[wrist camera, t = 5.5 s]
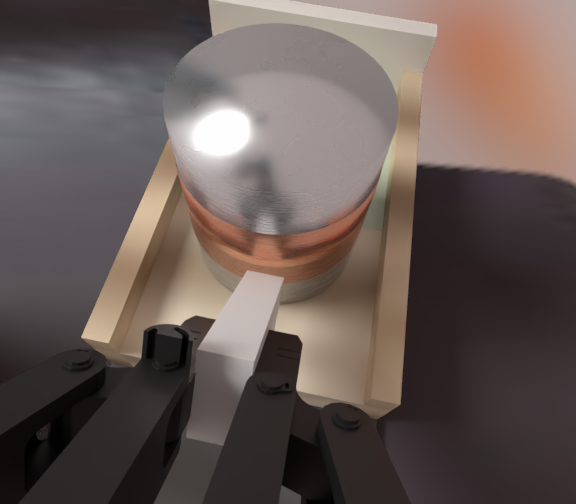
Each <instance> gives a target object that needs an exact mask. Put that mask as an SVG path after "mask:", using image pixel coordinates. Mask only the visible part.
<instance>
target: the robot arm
mask: <svg viewBox="0 0 576 504" xmlns="http://www.w3.org/2000/svg"><path fill="white" fill-rule="evenodd" d="M283 281H284V278H283V277H278V276H273V275H269V274H264V273H259V272H254V271H249V270H247V272H246V273H245V275H244V276H243V278H242V280H241V281H240V283H239V284H238V286H237V287H236V289H235V291H234V292H233V294H232V295H231V297H230V298H229V300H228V302H227V303H226V305H225V306H224V308H223V309H222V311H221V313H220V314H219V316H218V317H217V319H211V318H206V317H201V316H197V315H195V316H193V317H191V318H189V319H187V320H185V321H184V322H183V323H182V324H181V326H179V325H174V324H158V325H154V326H151V327H149V328H147V329H146V330H144V334H143V345H142V356H141V359H140V361H139V362H138V363H137V364H136V365H135V367H125V368H119V367H107V359H106V357H105V355H103V354H102V353H100V352H98V351H94V350H90V349H74V350H68V351H65V352H63V353H60V354H57V355H56V356H54V357H52V358H50V359H48V360H46V361H44V362H42V363H40V364H38V365H37V366H35V367H33V368H31V369H29V370H27V371H25V372H23V373H21V374H19V375H18V376H16V377H14V378H12V379H10V380H8V381H6V382H4V383H2V384H0V504H154V502H155V500H156V498H157V496H158V494H159V492H160V490H161V488H162V486H163V484H164V482H165V479H166V477H167V475H168V473H169V471H170V469H171V467H172V465H173V463H174V461H175V459H176V457H177V455H178V453H179V450H180V445H181V438H182V433H183V431H184V429H185V427H186V425H187V423H188V425H187V432H186V437H187V438H191V439H195V440H200V441H204V442H209V443H213V444H218V445H222V446H223V447H222V450H221V453H220V456H219V458H218V461H217V464H216V467H215V469H214V472H213V475H212V478H211V480H210V483H209V486H208V489H207V492H206V494H205V497H204V500H203V503H202V504H279V498H280V492H281V485H282V486H284V487H286V488H288V489H290V490H291V491H293V492H295V493H297V494H299V495H301V504H411V503H410V501H409V499H408V497H407V494H406V492H405V490H404V488H403V486H402V484H401V481H400V479H399V477H398V475H397V473H396V471H395V468H394V466H393V464H392V462H391V460H390V458H389V455H388V453H387V451H386V449H385V447H384V445H383V442H382V440H381V438H380V436H379V434H378V432H377V429H376V427H375V425H374V423H373V421H372V420H371V418H370V417H369V415H368V414H367V413H365V412H364V411H363V410H361V409H360V408H358V407H356V406H353V405H351V404H346V403H341V402H338V403H330V404H328V405H325V406H324V407H323V409H322V410H318V409H316V408H314V407H312V406H310V405H309V404H307V403H306V402H305V401H303V400H302V399H301V397H300V396H299V395H298V393H297V390H296V385H297V378H298V372H299V365H300V359H301V353H302V346H303V344H302V342H301V340H300V338H299V337H298V335H293V334H288V333H283V332H279V331H274V330H275V325H276V319H277V314H278V308H279V303H280V297H281V292H282V287H283ZM46 424H48V429H47V431H46V432H45V433H43V434H42V435H40V436H38V437H37V436H36V432H37V431H38V430H39V429H41V428H42V427H43V426H45V425H46Z"/></svg>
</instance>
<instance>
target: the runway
mask: <svg viewBox="0 0 576 504" xmlns="http://www.w3.org/2000/svg"><path fill="white" fill-rule="evenodd" d="M422 81H423V74H420V73H414V72H408V71H403V74H402V78H401V81H400V84H399V87H398V90H397V99H398V107H399V114H398V123H397V127H396V131H395V134H394V136H393V139H392V144H391V153H390V162H389V172H388V181H387V190H386V199H385V209H384V218H383V227H382V231H378V230H373V229H368V228H363V227H362V228H361V231H360V234H359V236H358V238H357V241H356V243H355V244H354V247H353V250H352V253H351V255H350V258H349V260H348V263H347V265H346V267H345V269H344V270H343V272H342V274H341V275H340V276H339V277H338V278H337V280H336V281H335V282H334V283H333V284H332V285H330V286H329V287H328V288H327V289H325V290H324V291H322V292H321V293H319V294H318V295H316V296H314V297H311V298H309V299H306V300H303V301H300V302H296V303H291V304H282V305H279V308H278V314H277V319H276V325H275V330H274V331H279V332H283V333H288V334H293V335H298V337H299V338H300V340H301V342H302V344H303V346H302V353H301V359H300V365H299V372H298V378H297V385H296V390H297V393H298V395H299V396H300V397H301V399H302V400H303V401H305V402H306V403H307V404H309V405H310V406H312V407H314V408H316V409H318V410H322V409H323V407H324V406H325V405H328V404H330V403H338V402H341V403H346V404H351V405H353V406H356V407H358V408H360V409H361V410H363V411H364V412H365V413H367V414H368V415H369V417H370V418H371V420H372V421H373V423H374V425H375V427H376V429H377V419H379V418H380V417H382V416H383V415H385V414H387V413H388V412H390V411H391V410H393V409H395V408H396V407H398V406H399V405H400V404H401V389H402V374H403V360H404V345H405V330H406V316H407V301H408V286H409V272H410V257H411V243H412V228H413V213H414V199H415V184H416V169H417V154H418V140H419V125H420V110H421V96H422V95H421V94H422ZM182 191H183V190H182V187H181V183H180V179H179V176H178V172H177V169H176V162H175V156H174V152H173V149H172V145H171V141H170V138H169V139H168V141H167V144H166V146H165V148H164V150H163V153H162V155H161V157H160V159H159V162H158V164H157V166H156V169H155V171H154V173H153V175H152V178H151V180H150V182H149V184H148V187H147V189H146V191H145V194H144V196H143V198H142V200H141V203H140V205H139V207H138V209H137V212H136V214H135V216H134V218H133V221H132V223H131V225H130V228H129V230H128V232H127V234H126V237H125V239H124V241H123V243H122V246H121V248H120V250H119V253H118V255H117V257H116V259H115V262H114V264H113V266H112V268H111V271H110V273H109V275H108V278H107V280H106V282H105V284H104V287H103V289H102V291H101V293H100V296H99V298H98V300H97V303H96V305H95V307H94V309H93V312H92V314H91V316H90V318H89V321H88V323H87V325H86V327H85V330H84V332H83V334H82V337H81V338H82V339H83V340H85V341H86V342H87V343H88V344H89V345H91V346H92V347H93V348H94V349H96V350H97V351H98V352H100V353H102V354H103V355H105V357H106V359H108V360H109V361H110V362H111V365H110V367H119V368H125V367H135V365H136V364H137V363H138V362H139V361H140V359H141V356H142V345H143V334H144V330H146V329H147V328H149V327H151V326H154V325H158V324H174V325H179V326H181V324H182V323H183V322H184V321H185V320H187V319H189V318H191V317H193V316H195V315H197V316H201V317H206V318H211V319H217V317H218V316H219V314H220V313H221V311H222V309H223V308H224V306H225V305H226V303H227V302H228V300H229V298H230V297H231V295H232V294H233V293H232V292H231V291H229V290H227V289H226V288H225V287H224V286H222V285H221V284H220V283H219V282H218V281H217V280H216V279H215V278H214V277H213V276H212V274H211V273H210V271H209V270H208V268H207V266H206V264H205V262H204V260H203V258H202V255H201V252H200V248H199V244H198V241H197V237H196V235H195V232H194V229H193V226H192V223H191V219H190V216H189V212H188V208H187V205H186V201H185V198H184V194H183V193H182ZM187 425H188V423H187ZM187 425H186V427H185V429H184V431H183V433H182V438H181V445H180V450H179V453H178V455H177V457H176V459H175V461H174V463H173V465H172V467H171V469H170V471H169V473H168V475H167V477H166V479H165V482H164V484H163V486H162V488H161V490H160V492H159V494H158V496H157V498H156V500H155V502H154V504H202V503H203V500H204V497H205V494H206V492H207V489H208V486H209V483H210V480H211V478H212V475H213V472H214V469H215V467H216V464H217V461H218V458H219V456H220V453H221V450H222V447H223V446H222V445H218V444H213V443H209V442H204V441H200V440H195V439H191V438H187V437H186V432H187ZM279 504H301V495H299V494H297V493H295V492H293V491H291V490H290V489H288V488H286V487H284V486H282V485H281V492H280V498H279Z"/></svg>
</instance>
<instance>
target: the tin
mask: <svg viewBox="0 0 576 504" xmlns="http://www.w3.org/2000/svg"><path fill="white" fill-rule="evenodd" d="M163 114H164V119H165V123H166V127H167V130H168V134H169V138H170V141H171V145H172V149H173V152H174V156H175V162H176V169H177V172H178V176H179V179H180V183H181V187H182V190H183V194H184V198H185V201H186V205H187V208H188V212H189V216H190V219H191V223H192V226H193V229H194V232H195V235H196V237H197V241H198V244H199V248H200V252H201V255H202V258H203V260H204V262H205V264H206V266H207V268H208V270H209V271H210V273H211V274H212V276H213V277H214V278H215V279H216V280H217V281H218V282H219V283H220V284H221V285H222V286H224V287H225V288H226V289H227V290H229V291H231V292H232V293H233V292H234V291H235V289H236V287H237V286H238V284H239V283H240V281H241V280H242V278H243V276H244V275H245V273H246V272H247V270H249V271H254V272H259V273H264V274H269V275H273V276H278V277H283V278H284V281H283V287H282V292H281V297H280V303H279V305H282V304H291V303H296V302H300V301H303V300H306V299H309V298H311V297H314V296H316V295H318V294H319V293H321V292H322V291H324V290H325V289H327V288H328V287H329V286H330V285H332V284H333V283H334V282H335V281H336V280H337V278H338V277H339V276H340V275H341V274H342V272H343V270H344V269H345V267H346V265H347V263H348V260H349V258H350V255H351V253H352V250H353V247H354V244H355V243H356V241H357V238H358V236H359V234H360V231H361V228H362V225H363V223H364V220H365V217H366V215H367V212H368V209H369V206H370V204H371V201H372V198H373V195H374V193H375V190H376V187H377V184H378V182H379V179H380V175H381V171H382V167H383V164H384V161H385V159H386V156H387V153H388V150H389V147H390V145H391V142H392V139H393V136H394V134H395V131H396V127H397V123H398V114H399V107H398V99H397V95H396V92H395V89H394V86H393V84H392V82H391V80H390V78H389V77H388V75H387V74H386V72H385V71H384V69H383V68H382V67H381V66H380V65H379V64H378V62H377V61H376V60H375V59H374V58H373V57H371V56H370V55H369V54H368V53H367V52H366V51H364V50H363V49H361V48H360V47H358V46H357V45H355V44H354V43H352V42H350V41H348V40H346V39H344V38H342V37H340V36H337V35H335V34H333V33H330V32H327V31H324V30H321V29H317V28H312V27H308V26H303V25H296V24H283V23H267V24H256V25H249V26H244V27H239V28H235V29H232V30H228V31H225V32H223V33H220V34H218V35H215V36H213V37H211V38H209V39H207V40H205V41H203V42H202V43H200V44H199V45H197V46H196V47H194V48H193V49H192V50H191V51H189V52H188V53H187V54H186V55H185V56H184V57H183V58H182V59H181V60H180V61H179V62H178V64H177V65H176V66H175V68H174V69H173V71H172V72H171V74H170V76H169V78H168V81H167V83H166V85H165V90H164V94H163Z"/></svg>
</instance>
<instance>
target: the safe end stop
mask: <svg viewBox="0 0 576 504" xmlns="http://www.w3.org/2000/svg"><path fill="white" fill-rule="evenodd" d="M208 1H209V9H210V18H211V26H212V35H213V36H215V35H218V34H220V33H223V32H225V31H228V30H232V29H235V28H239V27H244V26H249V25H256V24H267V23H283V24H296V25H303V26H308V27H312V28H317V29H321V30H324V31H327V32H330V33H333V34H335V35H337V36H340V37H342V38H344V39H346V40H348V41H350V42H352V43H354V44H355V45H357V46H358V47H360V48H361V49H363V50H364V51H366V52H367V53H368V54H369V55H370V56H371V57H373V58H374V59H375V60H376V61H377V62H378V64H379V65H380V66H381V67H382V68H383V69H384V71H385V72H386V74H387V75H388V77H389V78H390V80H391V82H392V84H393V86H394V89H395V92H396V95H397V90H398V87H399V84H400V81H401V78H402V74H403V71H408V72H414V73H420V74H423V73H424V70H425V67H426V64H427V62H428V59H429V57H430V54H431V51H432V49H433V46H434V44H435V41H436V38H437V24H431V23H426V22H419V21H414V20H407V19H401V18H395V17H389V16H383V15H377V14H370V13H365V12H359V11H352V10H346V9H340V8H334V7H328V6H322V5H316V4H310V3H304V2H298V1H292V0H208ZM391 144H392V142H391ZM390 153H391V145H390V147H389V150H388V153H387V156H386V159H385V161H384V164H383V167H382V171H381V175H380V179H379V182H378V184H377V187H376V190H375V193H374V195H373V198H372V201H371V204H370V206H369V209H368V212H367V215H366V217H365V220H364V223H363V225H362V227H363V228H368V229H373V230H378V231H382V227H383V218H384V209H385V199H386V190H387V181H388V172H389V162H390ZM182 193H183V191H182Z"/></svg>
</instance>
